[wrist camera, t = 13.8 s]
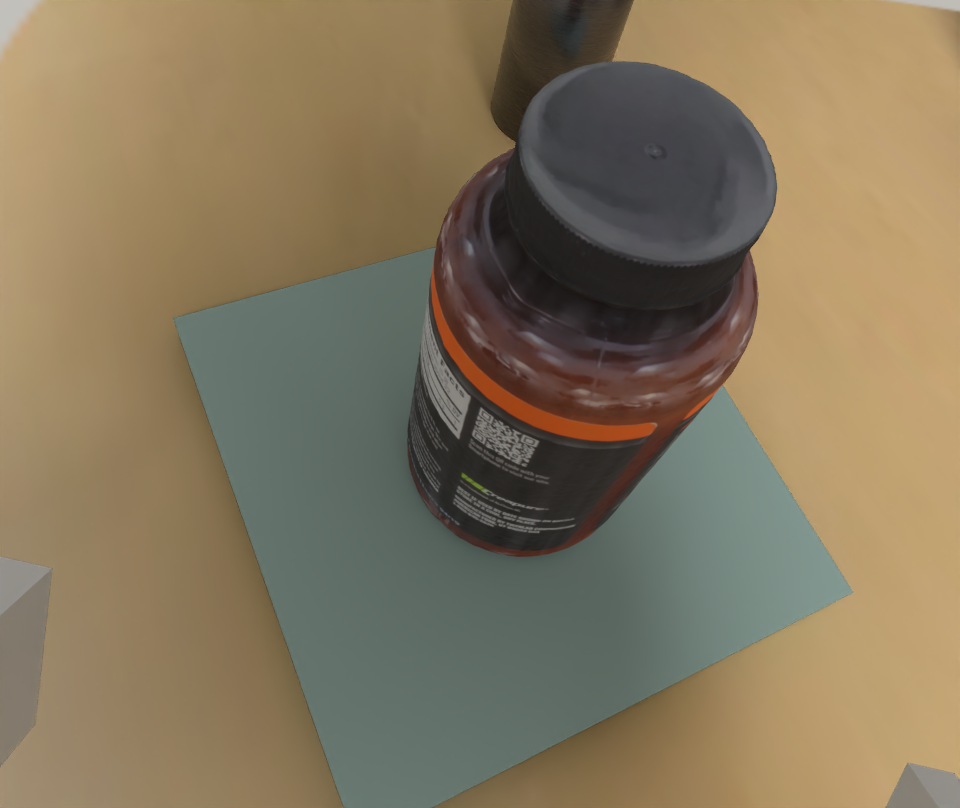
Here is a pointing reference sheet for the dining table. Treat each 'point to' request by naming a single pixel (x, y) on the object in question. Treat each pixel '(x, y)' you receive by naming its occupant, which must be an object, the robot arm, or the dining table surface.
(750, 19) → the dining table surface
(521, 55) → the spacer posts
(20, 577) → the robot arm
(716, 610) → the board
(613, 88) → the supplement bottle
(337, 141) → the dining table surface
